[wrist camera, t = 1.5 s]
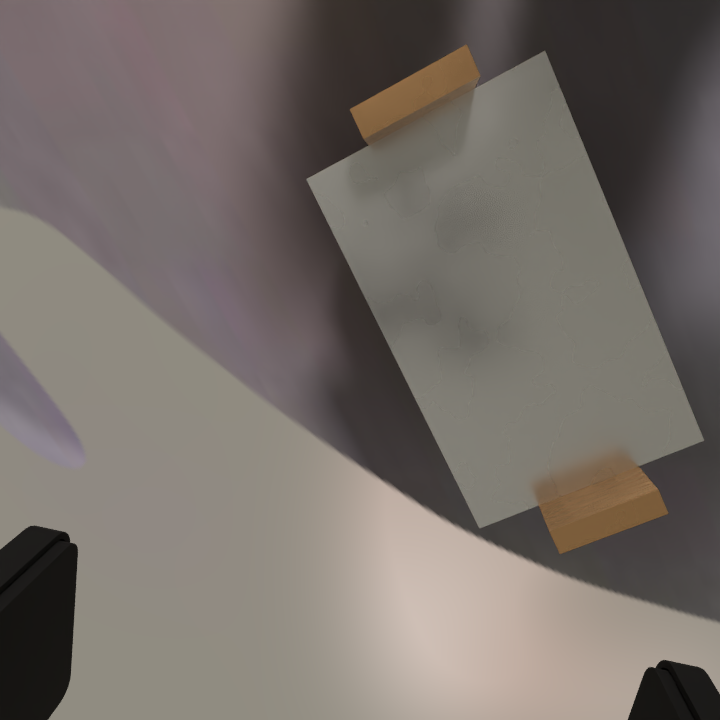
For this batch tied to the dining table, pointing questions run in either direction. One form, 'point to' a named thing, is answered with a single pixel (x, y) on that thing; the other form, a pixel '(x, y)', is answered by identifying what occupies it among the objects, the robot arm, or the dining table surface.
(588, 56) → the dining table surface
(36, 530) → the robot arm
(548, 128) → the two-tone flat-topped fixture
